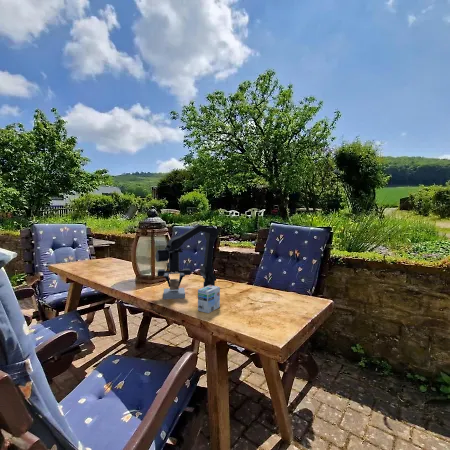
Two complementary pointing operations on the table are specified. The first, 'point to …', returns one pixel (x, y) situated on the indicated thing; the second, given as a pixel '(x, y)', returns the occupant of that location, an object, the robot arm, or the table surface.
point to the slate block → (174, 293)
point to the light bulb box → (208, 298)
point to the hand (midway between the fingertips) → (174, 286)
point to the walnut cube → (174, 284)
